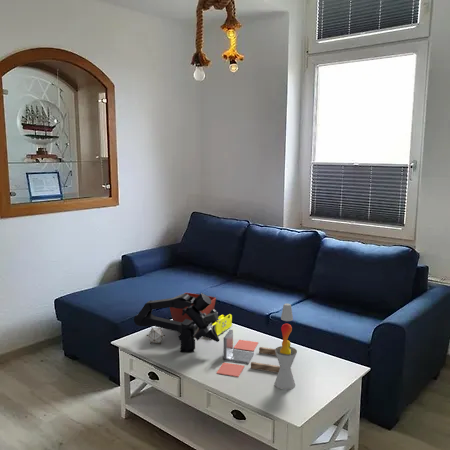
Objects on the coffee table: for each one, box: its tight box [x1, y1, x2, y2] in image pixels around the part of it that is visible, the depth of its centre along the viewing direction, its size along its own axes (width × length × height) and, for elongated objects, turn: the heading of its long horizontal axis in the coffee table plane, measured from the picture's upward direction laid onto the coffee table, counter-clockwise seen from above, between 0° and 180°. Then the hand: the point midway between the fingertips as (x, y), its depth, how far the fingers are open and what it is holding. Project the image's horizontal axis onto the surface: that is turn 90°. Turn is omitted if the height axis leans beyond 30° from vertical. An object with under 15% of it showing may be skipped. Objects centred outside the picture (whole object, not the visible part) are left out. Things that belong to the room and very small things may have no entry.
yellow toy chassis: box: [212, 313, 233, 337], centre depth 247 cm, size 16×6×8 cm, turn 149°
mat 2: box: [233, 339, 259, 352], centre depth 230 cm, size 10×10×1 cm
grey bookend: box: [222, 329, 255, 365], centre depth 217 cm, size 12×10×11 cm
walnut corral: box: [250, 346, 280, 373], centre depth 213 cm, size 15×17×2 cm
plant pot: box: [169, 292, 217, 332], centre depth 248 cm, size 19×19×17 cm
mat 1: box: [215, 362, 245, 378], centre depth 206 cm, size 10×10×1 cm
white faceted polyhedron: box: [146, 326, 166, 345], centre depth 233 cm, size 9×8×10 cm
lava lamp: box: [274, 303, 298, 391], centre depth 191 cm, size 9×9×35 cm
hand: (218, 341), depth 220 cm, fingers closed
